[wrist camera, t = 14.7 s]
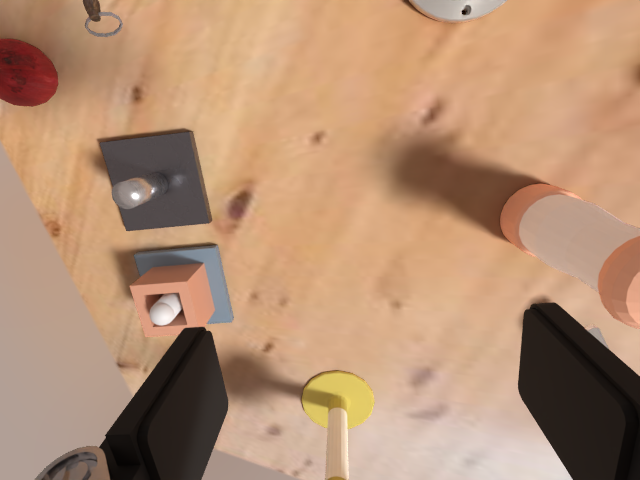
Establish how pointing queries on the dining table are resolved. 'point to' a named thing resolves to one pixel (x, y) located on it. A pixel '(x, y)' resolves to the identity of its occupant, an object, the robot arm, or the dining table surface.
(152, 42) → the dining table surface
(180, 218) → the stand
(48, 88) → the onion
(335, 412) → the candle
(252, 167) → the dining table surface
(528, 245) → the salt shaker
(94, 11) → the coffee pot
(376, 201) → the dining table surface
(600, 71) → the dining table surface
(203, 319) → the collar
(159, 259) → the blue peg base
